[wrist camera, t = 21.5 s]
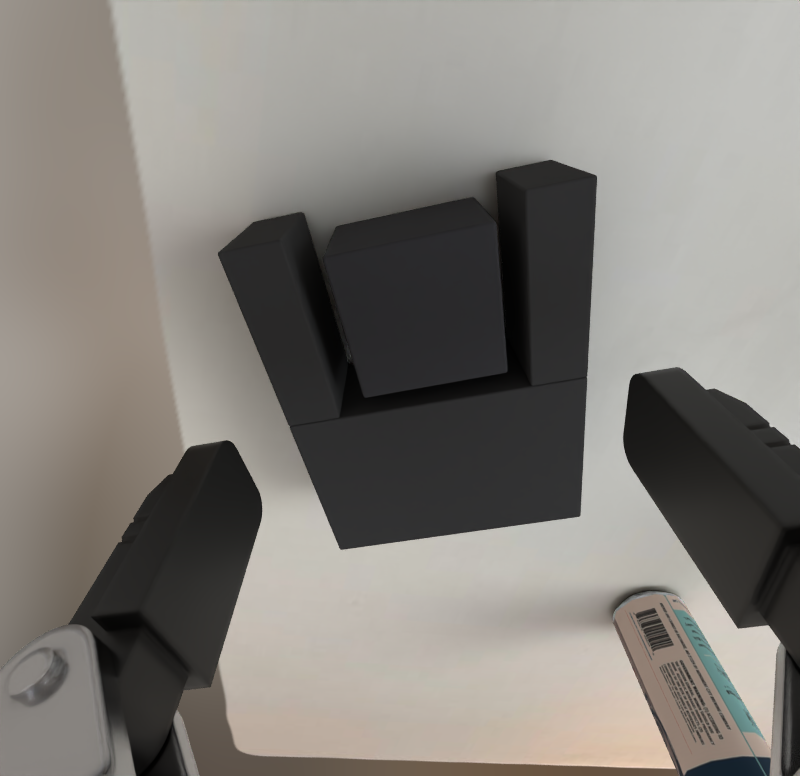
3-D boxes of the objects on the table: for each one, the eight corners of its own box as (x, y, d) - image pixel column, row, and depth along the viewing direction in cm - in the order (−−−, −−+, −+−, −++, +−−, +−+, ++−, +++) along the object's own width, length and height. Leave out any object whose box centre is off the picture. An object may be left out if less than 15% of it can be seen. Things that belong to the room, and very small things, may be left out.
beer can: (597, 622, 31) (696, 865, 21) (627, 582, 29) (755, 838, 19) (659, 627, 32) (783, 867, 22) (694, 588, 29) (852, 840, 19)
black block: (368, 347, 19) (363, 399, 16) (335, 226, 16) (321, 257, 13) (487, 324, 19) (508, 373, 15) (474, 196, 16) (496, 220, 13)
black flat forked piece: (251, 222, 16) (216, 252, 13) (552, 158, 15) (598, 174, 12) (347, 487, 24) (339, 550, 20) (552, 456, 23) (581, 517, 19)
